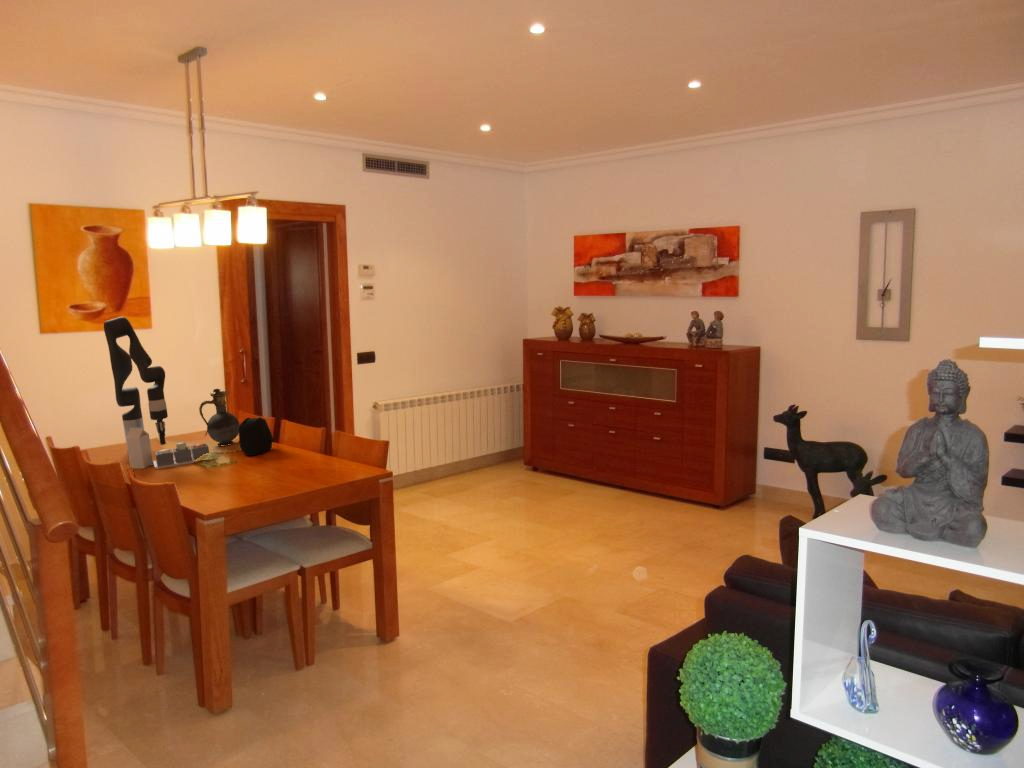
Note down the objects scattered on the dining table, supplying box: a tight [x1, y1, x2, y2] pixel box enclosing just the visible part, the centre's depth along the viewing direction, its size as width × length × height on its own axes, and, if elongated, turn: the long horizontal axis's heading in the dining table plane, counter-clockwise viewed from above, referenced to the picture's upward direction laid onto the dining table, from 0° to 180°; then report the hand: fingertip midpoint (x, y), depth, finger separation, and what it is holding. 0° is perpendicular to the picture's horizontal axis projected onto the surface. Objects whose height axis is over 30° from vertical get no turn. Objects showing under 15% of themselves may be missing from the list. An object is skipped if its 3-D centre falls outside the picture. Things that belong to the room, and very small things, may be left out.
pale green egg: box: [175, 442, 188, 451], centre depth 369 cm, size 4×4×5 cm
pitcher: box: [198, 388, 241, 447], centre depth 395 cm, size 11×19×30 cm, turn 136°
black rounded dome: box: [237, 416, 275, 456], centre depth 377 cm, size 18×18×17 cm
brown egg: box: [193, 442, 205, 448], centre depth 373 cm, size 4×4×5 cm
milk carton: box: [125, 428, 154, 469], centre depth 363 cm, size 7×7×19 cm
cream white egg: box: [158, 448, 170, 454], centre depth 366 cm, size 4×4×5 cm
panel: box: [152, 443, 210, 470], centre depth 370 cm, size 14×26×6 cm, turn 119°
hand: (163, 444), depth 365 cm, fingers closed
